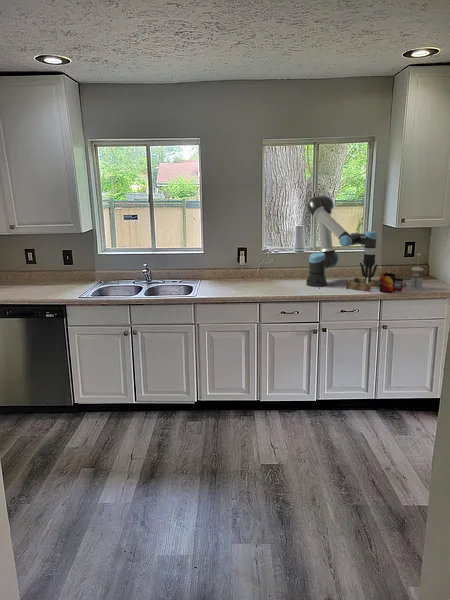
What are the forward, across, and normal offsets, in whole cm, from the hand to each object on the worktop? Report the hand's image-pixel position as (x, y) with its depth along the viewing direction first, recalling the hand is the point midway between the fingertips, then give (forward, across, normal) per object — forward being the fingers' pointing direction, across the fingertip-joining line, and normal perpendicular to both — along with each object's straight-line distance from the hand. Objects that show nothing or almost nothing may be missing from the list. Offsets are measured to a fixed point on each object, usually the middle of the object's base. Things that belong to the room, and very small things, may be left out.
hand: (367, 286), depth 306 cm
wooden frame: (+2, -3, 0) cm, 3 cm away
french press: (+2, +28, +18) cm, 33 cm away
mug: (+2, +16, 0) cm, 16 cm away
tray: (+2, +9, +18) cm, 20 cm away
